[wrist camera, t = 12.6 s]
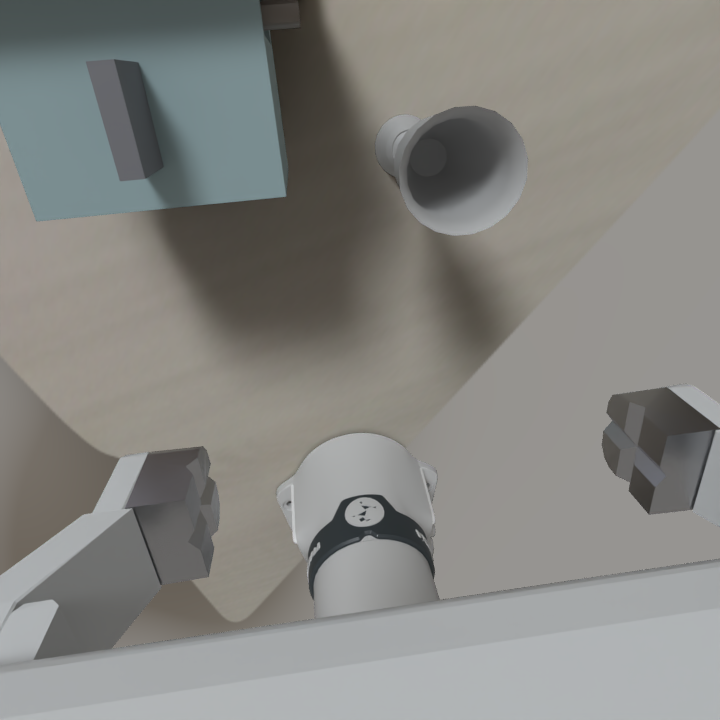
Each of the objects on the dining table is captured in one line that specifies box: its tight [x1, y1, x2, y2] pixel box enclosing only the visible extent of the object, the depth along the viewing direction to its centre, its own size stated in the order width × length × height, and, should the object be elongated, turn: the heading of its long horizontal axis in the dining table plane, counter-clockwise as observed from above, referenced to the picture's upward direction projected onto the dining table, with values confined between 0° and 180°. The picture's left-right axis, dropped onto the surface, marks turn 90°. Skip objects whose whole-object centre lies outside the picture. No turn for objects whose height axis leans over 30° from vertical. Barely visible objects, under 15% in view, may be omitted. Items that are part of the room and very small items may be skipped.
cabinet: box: [0, 0, 288, 221], centre depth 30 cm, size 11×14×15 cm
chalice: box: [375, 106, 528, 236], centre depth 37 cm, size 7×7×18 cm
